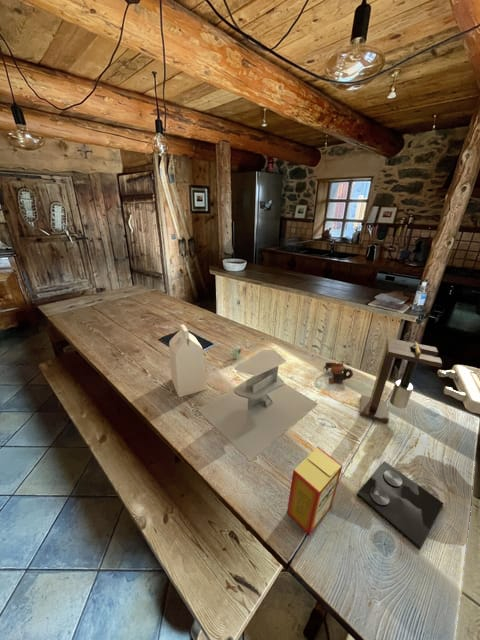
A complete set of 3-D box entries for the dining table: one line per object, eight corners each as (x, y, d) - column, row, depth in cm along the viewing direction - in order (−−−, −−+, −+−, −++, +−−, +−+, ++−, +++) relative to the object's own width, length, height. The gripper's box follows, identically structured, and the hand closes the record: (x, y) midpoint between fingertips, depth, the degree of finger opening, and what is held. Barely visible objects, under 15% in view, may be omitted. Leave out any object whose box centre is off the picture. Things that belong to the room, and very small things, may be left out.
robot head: (236, 353, 130) (236, 341, 128) (243, 355, 129) (244, 343, 126) (228, 361, 124) (228, 349, 121) (236, 363, 122) (236, 351, 119)
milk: (207, 389, 106) (204, 331, 95) (178, 397, 102) (172, 338, 90) (197, 372, 116) (194, 318, 105) (171, 379, 111) (165, 323, 100)
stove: (442, 505, 67) (444, 502, 67) (419, 549, 59) (421, 546, 58) (383, 463, 78) (384, 460, 77) (356, 495, 69) (357, 492, 69)
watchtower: (250, 461, 78) (252, 411, 69) (196, 409, 96) (193, 364, 88) (318, 403, 100) (326, 360, 91) (264, 370, 118) (266, 331, 110)
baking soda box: (308, 535, 61) (319, 492, 54) (286, 512, 65) (293, 469, 59) (331, 506, 67) (342, 464, 60) (309, 487, 71) (318, 445, 64)
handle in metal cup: (405, 399, 94) (425, 343, 84) (407, 412, 88) (429, 354, 79) (389, 394, 96) (407, 340, 86) (389, 407, 90) (409, 350, 81)
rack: (411, 412, 97) (436, 347, 85) (414, 432, 88) (442, 363, 77) (360, 397, 103) (377, 335, 91) (359, 415, 95) (377, 349, 83)
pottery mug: (321, 382, 112) (321, 362, 113) (326, 380, 120) (326, 361, 121) (352, 385, 106) (351, 364, 106) (355, 382, 114) (354, 363, 115)
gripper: (506, 427, 71) (444, 410, 76) (481, 382, 88) (432, 371, 93) (517, 409, 68) (452, 393, 73) (489, 367, 85) (438, 356, 90)
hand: (441, 380), depth 83 cm, fingers open, 8 cm apart
